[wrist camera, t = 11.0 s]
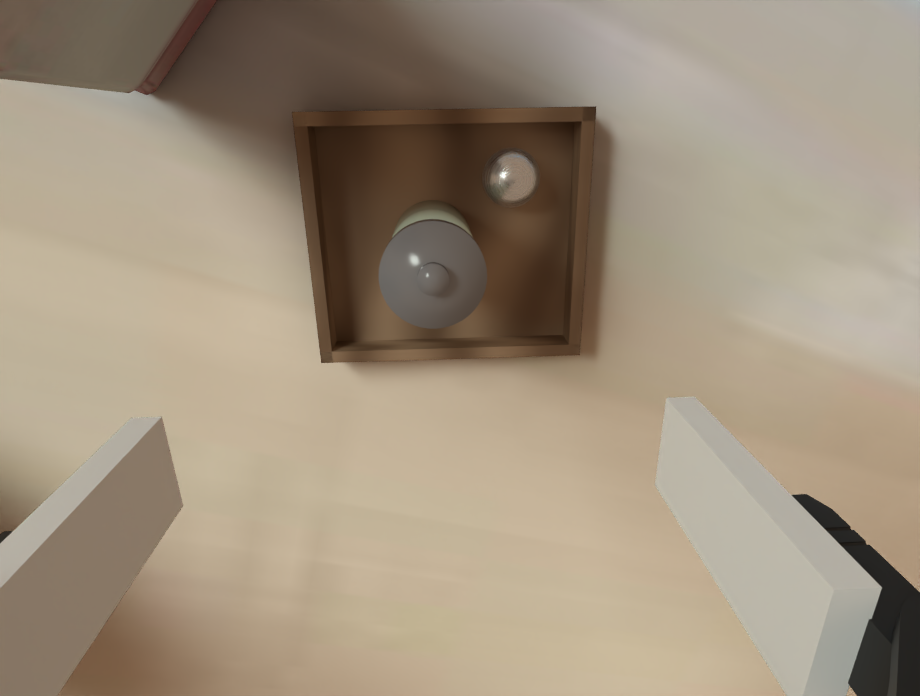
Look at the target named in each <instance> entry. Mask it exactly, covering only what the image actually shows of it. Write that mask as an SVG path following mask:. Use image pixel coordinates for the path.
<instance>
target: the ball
mask: <svg viewBox="0 0 920 696" xmlns="http://www.w3.org/2000/svg"><path fill="white" fill-rule="evenodd" d="M482 183H483V187H484V190H485V192H486V194H487V196H488V197H489V198H490V199H491V200H492V201H493V202H494V203H496V204H498V205H500V206H502V207H507V208H514V207H519V206H521V205H523V204H525V203H527V202H528V201H529V200H530V199H531V198H532V197H533V196H534V195H535V193H536V191H537V189H538V187H539V183H540V170H539V167H538V164H537V162H536V160H535V159H534V158H533V157H532V156H531V155H530V154H529V153H528V152H526V151H525V150H523V149H520V148H514V147H510V148H504V149H501V150H499V151H497V152H496V153H494V154H493V155H492V156H491V157H490V158H489V159H488V161H487V162H486V164H485V166H484V169H483V174H482Z"/></svg>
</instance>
